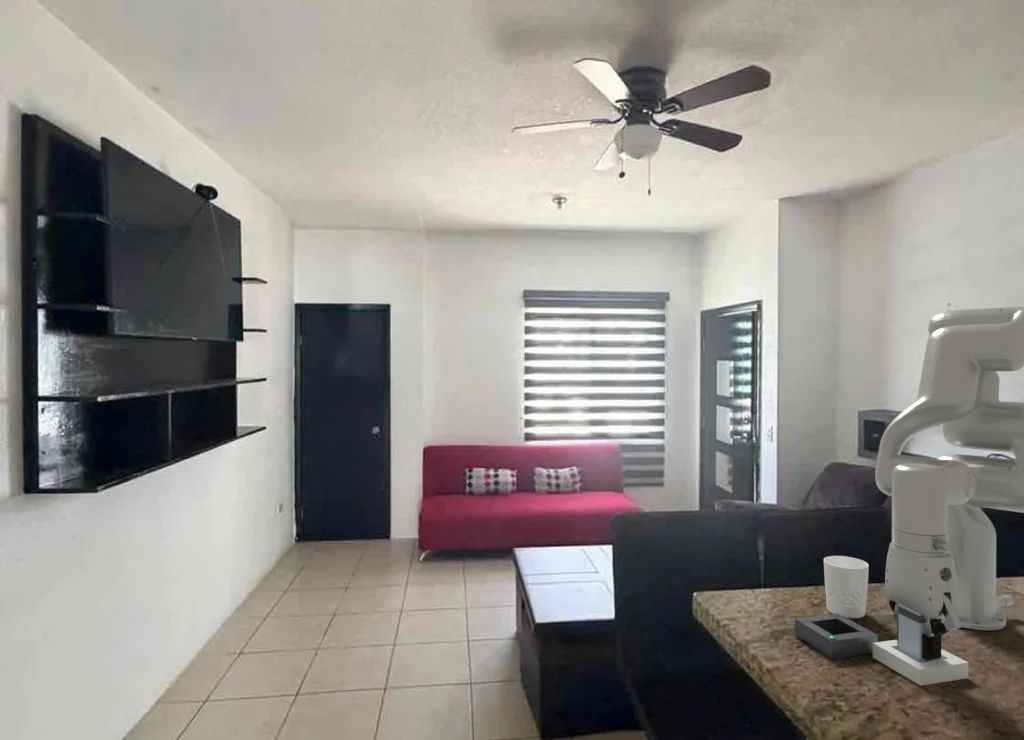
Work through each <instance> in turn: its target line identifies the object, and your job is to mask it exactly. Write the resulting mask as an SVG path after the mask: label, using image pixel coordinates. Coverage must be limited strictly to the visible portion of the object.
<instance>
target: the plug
mask: <svg viewBox="0 0 1024 740" xmlns="http://www.w3.org/2000/svg"><path fill="white" fill-rule="evenodd" d="M932 621H933V626H934V625H936V624H935V620H932ZM897 622H898V651H900V652H901V653H903V654H905V655H907V656H909V657H910V658H912V659H914V660H916V661H918V662H919V663H921V662H928V661H935V660H940V658H939V659H933V660H925V659H923V658H922V634H926V633H925V628H924V621H923V615H922V614H920V613H918V612H916V611H914V610H912V609H910V608H907V607H905V606H903V605H901V604H898V621H897Z"/></svg>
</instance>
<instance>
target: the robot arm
mask: <svg viewBox="0 0 1024 740" xmlns="http://www.w3.org/2000/svg"><path fill="white" fill-rule="evenodd" d="M928 336H929V337H928V339H927V340H926V341H927V342H926V344H925V345H926V347H925V353H924V357H923V363H922V367H921V368H922V369H921V374H920V380H919V385H918V386H919V387H918V393H917V398H916V400H915V402H913V403H912V404H911V405H909V406H908V407H907V408H905V409H904V410H903V411H901V412H900V413H899V414H898V415H897V416H896V417H895V418H894V419H893V420H892V421H891V422H890V423H889V425H888V426H887V427H886V428H885V430H884V432H883V434H882V436H881V439H880V441H879V442H880V443H879V447H878V451H877V458H876V464H875V472H874V474H875V476H874V477H875V479H874V480H875V484H876V486H877V488H878V489H879V491H881V492H882V493H883V494H885V495H887V496H888V497H891V542H889V545H888V546H889V547H888V550H887V551H888V552H887V555H886V564H885V579H884V583H885V584H884V585H885V586H884V588H883V589H882V591H881V595H882V596H883V598H884V599H885V601H886V602H887V603H888V604H889V607H890V609H891V610H892V613H893V619H894V620H895V621H896V624H897V628H896V629H897V632H896V633H897V635H896V636H897V639H896V640H897V644H898V604H901V605H903V606H905V607H907V608H910V609H912V610H914V611H916V612H918V613H920V614H922V615H923V621H924V628H925V633H926V634H922V658H923V659H925V660H933V659H939V658H941V649H942V636H945V635H946V634H947V633H948V632H950V631H952V630H957V629H961V628H963V629H969V630H975V631H998V630H1002V629H1004V628H1006V626H1007V618H1006V617H1005V615H1004V614H1003V613H1001V612H1000V609H1001V608H1002V607H1009V606H1013V605H1014V604H1015V600H1014V598H1013V597H1012V596H1011V595H1009V594H1005V595H997V533H996V529H995V526H994V525H993V523H992V521H991V519H989V517H988V516H987V515H986V513H985V512H984V511H983V510H982V508H983V509H986V508H988V509H995V510H999V511H1000V510H1001V511H1008V512H1016V513H1023V514H1024V402H1022V401H1021V402H1019V401H1000V398H999V396H1000V383H1001V381H1000V376H999V374H998V372H1016V371H1019V370H1021V369H1022V368H1023V367H1024V306H1011V307H1009V306H1008V307H1006V306H1004V307H990V308H971V309H968V308H967V309H958V310H949V311H944V312H940V313H937V314H935V315H934V316H932V317H931V318H930V320H929V323H928ZM941 425H942V432H943V437H944V440H945V441H946V442H947V443H948V444H950V445H951V446H954V447H957V448H963V449H969V450H971V449H972V450H981V451H992V452H1004V453H1009V454H1012V455H1014V459H1013V458H1000V457H989V456H984V455H982V456H981V455H973V454H972V455H971V454H962V453H961V454H958V453H954V454H943V455H940V456H939V457H937V458H934V457H926V456H925V457H924V456H918V455H917V456H915V455H906V454H905V455H904V454H902V451H903V448H904V447H905V445H906V443H907V442H908V441H909V440H910V439H911V438H913V437H914V436H915V435H917V434H919V433H921V432H923V431H925V430H928V429H931V428H933V427H937V426H941ZM932 620H935V624H936V625H934V626H933V621H932Z"/></svg>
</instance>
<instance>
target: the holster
mask: <svg viewBox="0 0 1024 740" xmlns="http://www.w3.org/2000/svg"><path fill="white" fill-rule="evenodd" d="M872 658H873V659H875V660H876V661H878V662H879V663H881V664H883V665H885V666H887V667H888V668H890V669H892V670H893V671H895V672H896V673H898V674H900V675H901V676H903V677H905V678H906V679H908V680H909V681H911V682H913V683H914V684H916V685H918V686H929V685H933V684H939V683H941V684H942V683H946V682H953V681H958V680H959V681H960V680H966V679H969V662H968V661H966V660H965V659H963V658H960V657H959V656H957V655H955V654H953V653H951V652H949V651H946V650H945V649H942V648H941V658H940V660H935V661H928V662H921V663H919V662H918V661H916V660H914V659H912V658H910V657H909V656H907V655H905V654H903V653H901V652H900V651H898V644H897V639H893V640H884V641H878V642H876V643H873V653H872Z"/></svg>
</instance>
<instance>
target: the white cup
mask: <svg viewBox="0 0 1024 740" xmlns="http://www.w3.org/2000/svg"><path fill="white" fill-rule="evenodd" d="M869 567H870V566H869V563H868V562H867V561H864V560H862V559H860V558H856V557H852V556H846V555H831V556H826V557H824V558H823V573H824V587H825V590H824V591H825V595H826V596H825V597H826V599H825V600H826V609H827V611H828V612H830V613H831V614H840V615H842V616H844V617H845V618H847V619H861V618H863V617H865V615H866V608H867V607H866V606H867V605H866V604H867V601H868V600H867V599H868V587H869V586H868V585H869Z"/></svg>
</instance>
